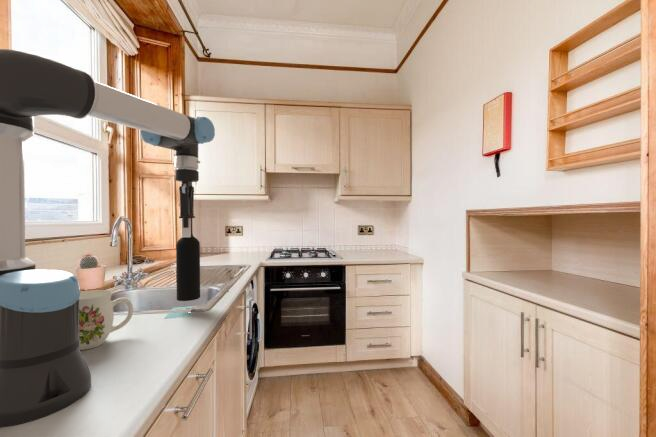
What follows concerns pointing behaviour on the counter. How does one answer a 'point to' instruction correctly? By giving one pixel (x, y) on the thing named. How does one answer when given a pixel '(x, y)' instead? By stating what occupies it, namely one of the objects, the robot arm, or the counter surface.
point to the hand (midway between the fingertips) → (187, 236)
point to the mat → (182, 314)
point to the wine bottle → (188, 268)
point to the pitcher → (98, 317)
